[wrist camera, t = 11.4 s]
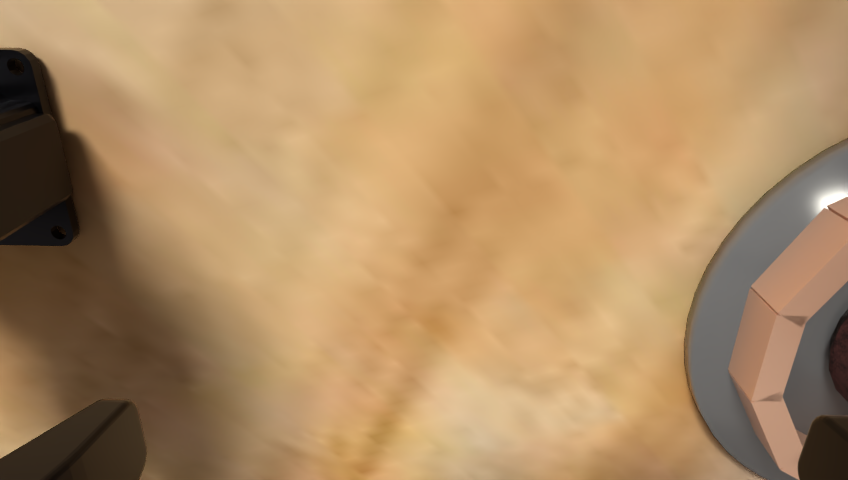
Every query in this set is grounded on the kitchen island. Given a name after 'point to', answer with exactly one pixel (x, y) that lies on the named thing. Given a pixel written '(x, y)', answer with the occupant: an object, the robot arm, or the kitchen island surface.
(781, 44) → the kitchen island surface
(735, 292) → the ring tray
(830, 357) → the can
